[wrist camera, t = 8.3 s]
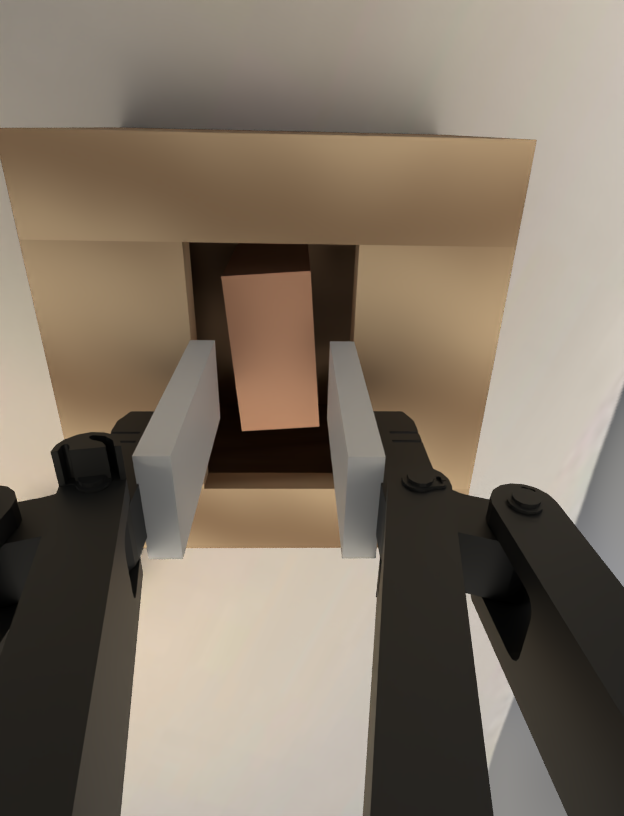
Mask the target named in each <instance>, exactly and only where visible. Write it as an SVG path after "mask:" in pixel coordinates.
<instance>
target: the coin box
mask: <svg viewBox="0 0 624 816" xmlns="http://www.w3.org/2000/svg"><path fill="white" fill-rule="evenodd" d="M536 141H537V140H528V139H510V138H491V137H473V136H454V135H431V134H386V133H342V132H297V131H252V130H207V129H163V128H0V159H1V163H2V167H3V172H4V176H5V180H6V185H7V189H8V194H9V198H10V202H11V207H12V211H13V216H14V220H15V224H16V229H17V233H18V237H19V242H20V246H21V251H22V255H23V259H24V264H25V268H26V273H27V277H28V281H29V286H30V290H31V295H32V299H33V303H34V308H35V312H36V316H37V321H38V325H39V330H40V334H41V338H42V343H43V347H44V352H45V356H46V360H47V365H48V369H49V374H50V378H51V382H52V387H53V391H54V395H55V400H56V404H57V409H58V413H59V417H60V422H61V426H62V431H63V435H64V439H67V438H69V437H72V436H75V435H78V434H83V433H89V432H105V433H109V434H111V430H112V429H113V427H114V426H115V424H116V422H117V421H118V420H119V419H121V418H122V417H124V416H125V415H127V414H128V413H129V412H131V411H155V409H156V407H157V405H158V403H159V401H160V399H161V397H162V395H163V393H164V391H165V389H166V387H167V385H168V383H169V381H170V379H171V377H172V375H173V373H174V371H175V369H176V367H177V365H178V363H179V361H180V359H181V357H182V355H183V353H184V351H185V349H186V347H187V345H188V343H189V341H190V340H215V349H216V363H217V378H218V392H219V407H220V420H219V424H218V428H217V432H216V436H215V439H214V443H213V447H212V451H211V455H210V458H209V462H208V466H207V470H206V474H205V477H204V481H203V485H202V489H201V492H200V496H199V500H198V504H197V508H196V511H195V515H194V519H193V523H192V527H191V530H190V534H189V538H188V542H187V546H186V548H341V543H340V534H339V525H338V515H337V506H336V497H335V488H334V478H333V469H332V460H331V450H330V441H329V432H328V423H327V405H328V379H329V352H330V341H351V342H354V343H355V346H356V350H357V354H358V357H359V361H360V365H361V368H362V372H363V376H364V379H365V383H366V387H367V390H368V394H369V398H370V401H371V405H372V409H373V411H403V412H404V413H405V414H406V415H408V416H409V417H410V418H411V419H412V420H414V422H415V425H416V427H417V430H418V434H419V435H420V437H421V440H422V442H423V445H424V447H425V450H426V452H427V455H428V457H429V460H430V462H431V465H432V467H433V469H435V470H437V471H439V472H441V473H443V474H444V475H445V476H446V477H447V478H448V479H449V481H450V483H451V485H452V490H454V491H457V492H459V493H462V494H466V495H468V494H469V488H470V483H471V478H472V473H473V468H474V462H475V457H476V452H477V447H478V442H479V437H480V431H481V426H482V421H483V416H484V411H485V405H486V400H487V395H488V390H489V385H490V379H491V374H492V369H493V364H494V359H495V354H496V348H497V343H498V338H499V333H500V328H501V322H502V317H503V312H504V307H505V302H506V297H507V291H508V286H509V281H510V276H511V271H512V265H513V260H514V255H515V250H516V245H517V239H518V234H519V229H520V224H521V219H522V214H523V208H524V203H525V198H526V193H527V188H528V182H529V177H530V172H531V167H532V162H533V156H534V151H535V146H536ZM238 243H272V244H308V249H309V259H310V270H311V286H312V304H313V322H314V340H315V358H316V376H317V394H318V412H319V427H303V428H287V429H270V430H254V431H242V428H241V421H240V413H239V406H238V398H237V391H236V383H235V376H234V369H233V361H232V354H231V346H230V339H229V331H228V324H227V317H226V309H225V302H224V294H223V287H222V279H221V276H222V274H223V272H224V270H225V268H226V266H227V264H228V262H229V260H230V258H231V256H232V254H233V252H234V250H235V248H236V246H237V244H238ZM377 547H378V543H377ZM143 548H147V545H146V542H145V545H144V547H143Z"/></svg>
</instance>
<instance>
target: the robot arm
mask: <svg viewBox="0 0 624 816" xmlns="http://www.w3.org/2000/svg"><path fill="white" fill-rule="evenodd" d="M219 420H220V407H219V392H218V378H217V363H216V349H215V340H190V341H189V343H188V345H187V347H186V349H185V351H184V353H183V355H182V357H181V359H180V361H179V363H178V365H177V367H176V369H175V371H174V373H173V375H172V377H171V379H170V381H169V383H168V385H167V387H166V389H165V391H164V393H163V395H162V397H161V399H160V401H159V403H158V405H157V407H156V409H155V411H131V412H129V413H128V414H127V415H125V416H124V417H122V418H121V419H119V420H118V421H117V422H116V424H115V426H114V427H113V429H112V430H111V434H109V433H105V432H89V433H83V434H78V435H75V436H72V437H69V438H67V439H65V440H63V441H61V442H60V443H58V444H57V445H56V446H55V447H54V448H53V449H52V451H51V455H52V459H53V463H54V467H55V472H56V476H57V480H58V484H59V488H58V491H57V493H56V494H54V495H50V496H47V497H42V498H37V499H32V500H27V501H21V502H17V499H16V495H15V492H14V491H13V490H12V489H10V488H9V487H6V486H0V816H120V814H121V804H122V793H123V782H124V771H125V761H126V750H127V739H128V728H129V717H130V707H131V696H132V685H133V674H134V664H135V653H136V642H137V631H138V621H139V610H140V599H141V588H142V578H143V571H142V565H141V559H140V555H141V553H142V550H143V547H144V545H145V542H146V545H147V551H148V557H149V559H183V557H184V553H185V549H186V546H187V542H188V538H189V534H190V530H191V527H192V523H193V519H194V515H195V511H196V508H197V504H198V500H199V496H200V492H201V489H202V485H203V481H204V477H205V474H206V470H207V466H208V462H209V458H210V455H211V451H212V447H213V443H214V439H215V436H216V432H217V428H218V424H219ZM327 423H328V432H329V441H330V450H331V460H332V469H333V478H334V488H335V497H336V506H337V515H338V525H339V534H340V543H341V552H342V558H376V549H377V543H378V548H379V554H380V563H379V572H378V582H377V591H376V597H377V604H376V619H375V635H374V650H373V666H372V682H371V697H370V713H369V728H368V744H367V759H366V775H365V790H364V806H363V816H493V808H492V800H491V792H490V784H489V776H488V768H487V760H486V752H485V744H484V737H483V729H482V721H481V713H480V705H479V697H478V689H477V681H476V673H475V665H474V657H473V649H472V641H471V633H470V625H469V617H468V610H467V602H466V594H465V593H468V594H471V599H472V602H473V604H474V606H475V609H476V611H477V613H478V615H479V618H480V620H481V622H482V624H483V626H484V629H485V631H486V633H487V635H488V638H489V640H490V642H491V644H492V647H493V649H494V651H495V653H496V656H497V658H498V660H499V662H500V665H501V667H502V669H503V671H504V674H505V676H506V678H507V680H508V683H509V685H510V687H511V689H512V692H513V694H514V696H515V698H516V701H517V703H518V705H519V707H520V710H521V712H522V714H523V716H524V719H525V721H526V723H527V725H528V728H529V730H530V732H531V734H532V736H533V739H534V741H535V743H536V746H537V748H538V750H539V752H540V755H541V757H542V759H543V761H544V764H545V766H546V768H547V770H548V772H549V775H550V777H551V779H552V782H553V784H554V786H555V788H556V791H557V793H558V795H559V797H560V799H561V802H562V804H563V806H564V808H565V811H566V813H567V815H568V816H624V587H623V586H622V585H621V583H620V582H619V581H618V579H617V578H616V577H615V575H614V574H613V573H612V572H611V571H610V569H609V568H608V567H607V565H606V564H605V563H604V561H603V560H602V559H601V558H600V556H599V555H598V554H597V553H596V551H595V550H594V549H593V547H592V546H591V545H590V544H589V542H588V541H587V540H586V539H585V537H584V536H583V535H582V534H581V532H580V531H579V530H578V529H577V527H576V526H575V525H574V523H573V522H572V521H571V520H570V518H569V517H568V516H567V514H566V513H565V512H564V511H563V509H562V508H561V507H560V506H559V504H558V503H557V502H556V501H555V500H554V499H553V498H552V497H551V496H550V495H548V494H547V493H545V492H543V491H541V490H539V489H537V488H534V487H531V486H528V485H523V484H505V485H500V486H499V487H497V488H495V489H494V490H493V491H492V494H491V496H490V500H489V499H484V498H479V497H474V496H469V495H466V494H462V493H459V492H457V491H454V490H452V485H451V483H450V481H449V479H448V478H447V477H446V476H445V475H444V474H443V473H441V472H439V471H437V470H435V469H433V467H432V465H431V462H430V460H429V457H428V455H427V452H426V450H425V447H424V445H423V442H422V440H421V437H420V435H419V434H418V430H417V427H416V425H415V422H414V420H412V419H411V418H410V417H409V416H408V415H406V414H405V413H404V412H403V411H373V409H372V405H371V401H370V398H369V394H368V390H367V387H366V383H365V379H364V376H363V372H362V368H361V365H360V361H359V357H358V354H357V350H356V346H355V343H354V342H351V341H330V352H329V379H328V405H327Z"/></svg>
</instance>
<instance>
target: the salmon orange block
mask: <svg viewBox="0 0 624 816" xmlns="http://www.w3.org/2000/svg"><path fill="white" fill-rule="evenodd" d="M221 279H222V287H223V294H224V302H225V309H226V317H227V324H228V331H229V339H230V346H231V354H232V361H233V369H234V376H235V383H236V391H237V398H238V406H239V413H240V421H241V428H242V431H254V430H270V429H287V428H303V427H319V412H318V394H317V376H316V358H315V340H314V322H313V304H312V286H311V270H310V259H309V249H308V244H272V243H238V244H237V246H236V248H235V250H234V252H233V254H232V256H231V258H230V260H229V262H228V264H227V266H226V268H225V270H224V272H223V274H222V276H221Z"/></svg>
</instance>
